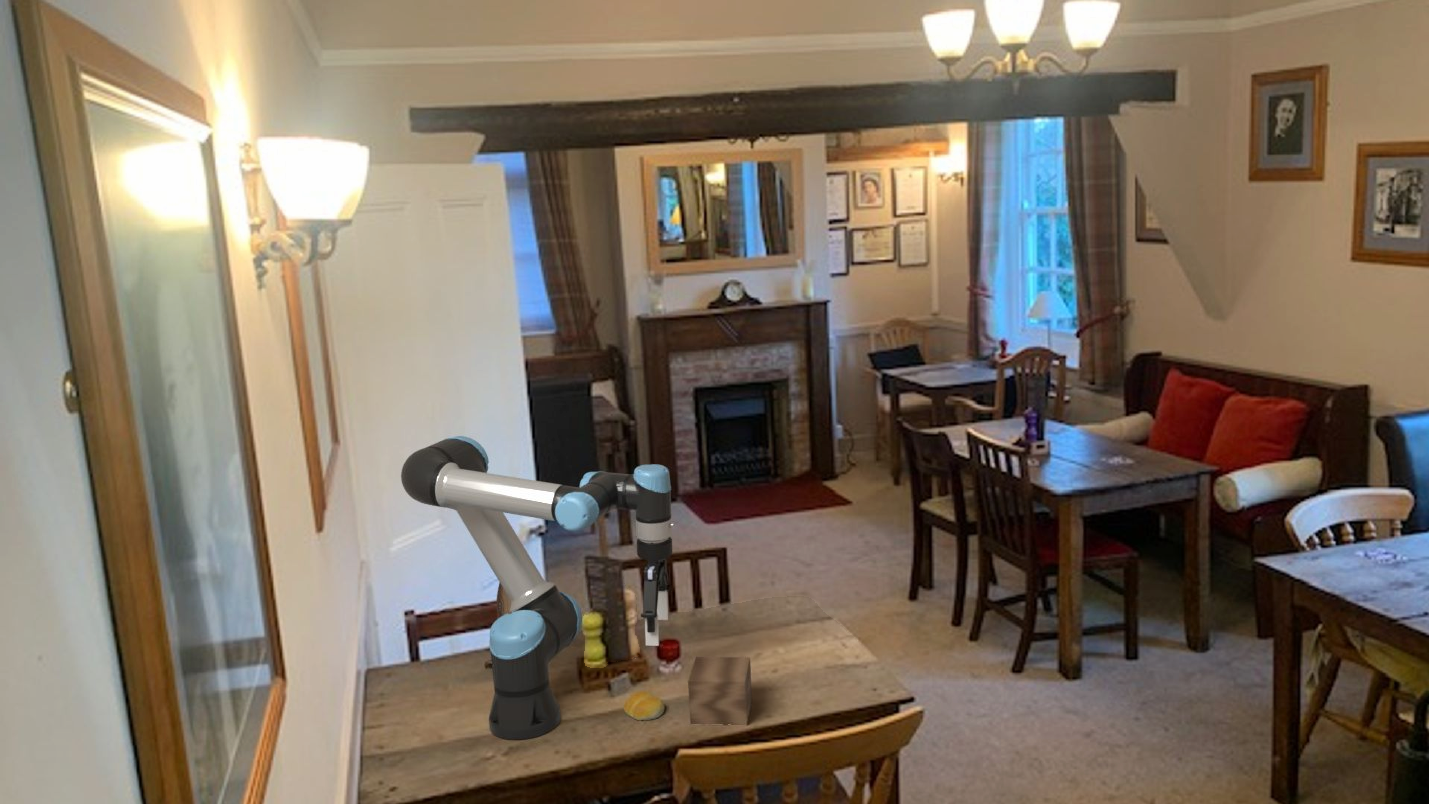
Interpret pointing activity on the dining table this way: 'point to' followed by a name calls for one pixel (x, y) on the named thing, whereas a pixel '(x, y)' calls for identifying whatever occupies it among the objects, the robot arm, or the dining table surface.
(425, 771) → the dining table surface
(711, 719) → the walnut block
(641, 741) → the dining table surface
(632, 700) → the bread roll
